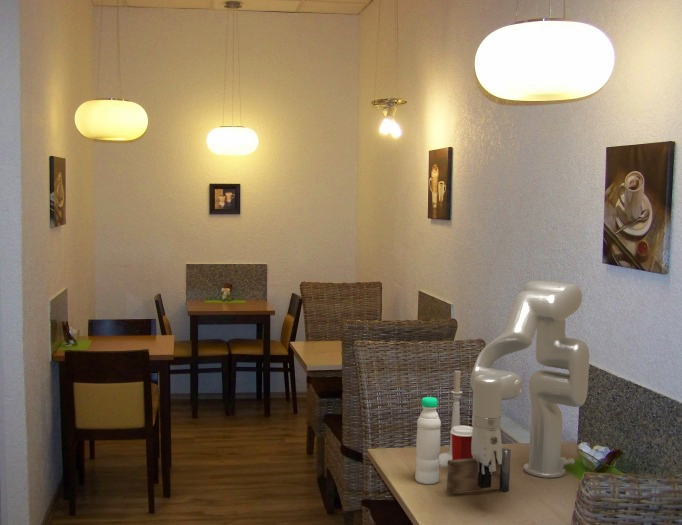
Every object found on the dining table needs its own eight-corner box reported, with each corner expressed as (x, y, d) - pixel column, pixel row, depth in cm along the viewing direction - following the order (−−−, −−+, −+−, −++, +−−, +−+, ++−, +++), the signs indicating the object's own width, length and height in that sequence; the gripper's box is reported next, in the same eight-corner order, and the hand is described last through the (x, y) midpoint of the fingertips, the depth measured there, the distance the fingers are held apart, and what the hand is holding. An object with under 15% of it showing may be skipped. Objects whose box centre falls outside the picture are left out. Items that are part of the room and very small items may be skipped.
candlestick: (437, 454, 268) (440, 364, 266) (476, 458, 265) (480, 367, 262) (431, 466, 256) (434, 372, 253) (472, 471, 252) (475, 375, 250)
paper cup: (476, 470, 253) (478, 426, 251) (472, 478, 245) (473, 433, 244) (451, 467, 255) (453, 423, 254) (446, 475, 248) (448, 430, 247)
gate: (496, 486, 237) (497, 455, 236) (500, 488, 235) (501, 458, 234) (446, 491, 232) (447, 460, 231) (449, 493, 230) (450, 462, 229)
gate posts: (506, 488, 238) (508, 447, 237) (510, 491, 235) (512, 451, 234) (446, 490, 235) (447, 449, 234) (449, 493, 233) (450, 452, 232)
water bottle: (437, 486, 239) (440, 402, 236) (413, 483, 240) (416, 400, 238) (439, 477, 246) (442, 396, 243) (416, 475, 247) (419, 394, 245)
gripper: (512, 428, 215) (509, 495, 216) (486, 412, 229) (484, 476, 231) (485, 430, 213) (483, 498, 214) (462, 414, 227) (460, 478, 229)
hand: (484, 486), depth 223 cm, fingers closed
